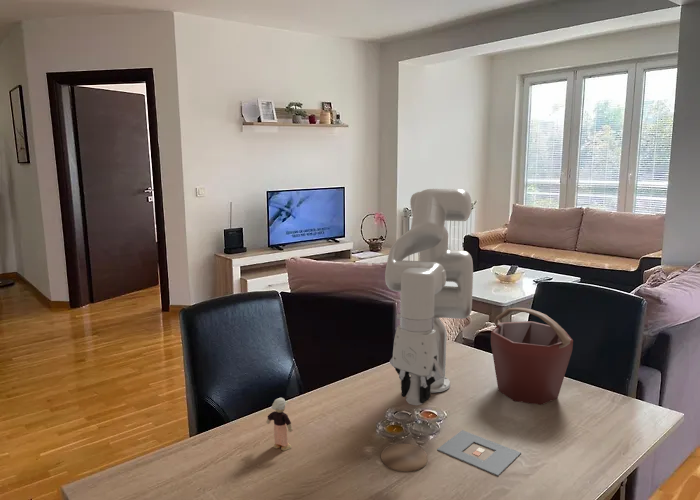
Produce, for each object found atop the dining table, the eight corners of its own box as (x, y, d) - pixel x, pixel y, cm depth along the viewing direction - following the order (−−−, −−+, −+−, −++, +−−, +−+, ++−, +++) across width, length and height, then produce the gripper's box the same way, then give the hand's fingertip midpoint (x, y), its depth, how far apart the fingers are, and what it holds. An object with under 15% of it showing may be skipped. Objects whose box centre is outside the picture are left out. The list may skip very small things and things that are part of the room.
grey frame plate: (437, 450, 131) (437, 449, 131) (462, 431, 140) (462, 430, 140) (497, 476, 120) (498, 475, 120) (521, 453, 129) (521, 452, 129)
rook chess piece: (424, 406, 123) (425, 373, 121) (405, 405, 123) (405, 372, 122) (425, 397, 127) (426, 365, 125) (406, 396, 128) (407, 364, 126)
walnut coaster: (371, 459, 127) (371, 457, 127) (399, 440, 135) (399, 438, 135) (409, 477, 120) (409, 475, 120) (436, 456, 128) (436, 454, 128)
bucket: (474, 380, 170) (477, 304, 166) (532, 370, 178) (536, 297, 173) (524, 415, 148) (529, 328, 143) (587, 402, 155) (594, 319, 150)
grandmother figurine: (297, 444, 133) (296, 397, 131) (291, 453, 130) (290, 404, 127) (270, 439, 136) (268, 392, 133) (262, 447, 132) (261, 399, 130)
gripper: (377, 319, 124) (376, 393, 128) (440, 335, 113) (438, 415, 117) (396, 311, 130) (395, 382, 133) (458, 326, 119) (455, 403, 122)
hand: (415, 397), depth 125 cm, fingers closed on rook chess piece, 4 cm apart
